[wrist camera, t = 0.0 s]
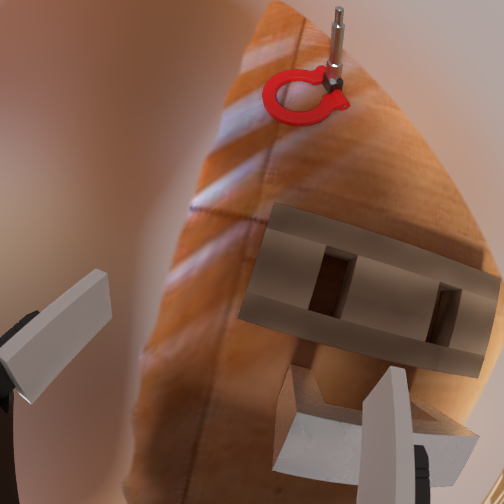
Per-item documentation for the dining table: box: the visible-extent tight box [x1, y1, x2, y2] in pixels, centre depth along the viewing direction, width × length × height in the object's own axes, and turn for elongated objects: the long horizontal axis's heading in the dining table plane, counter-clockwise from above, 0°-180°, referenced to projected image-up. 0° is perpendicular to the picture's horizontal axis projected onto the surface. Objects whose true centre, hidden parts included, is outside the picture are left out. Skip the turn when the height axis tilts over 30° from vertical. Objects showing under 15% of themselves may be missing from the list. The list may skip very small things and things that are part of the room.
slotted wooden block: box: [238, 202, 501, 378], centre depth 24 cm, size 10×24×4 cm, turn 72°
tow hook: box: [262, 6, 350, 126], centre depth 25 cm, size 8×13×9 cm
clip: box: [272, 364, 479, 487], centre depth 19 cm, size 4×13×13 cm, turn 72°
